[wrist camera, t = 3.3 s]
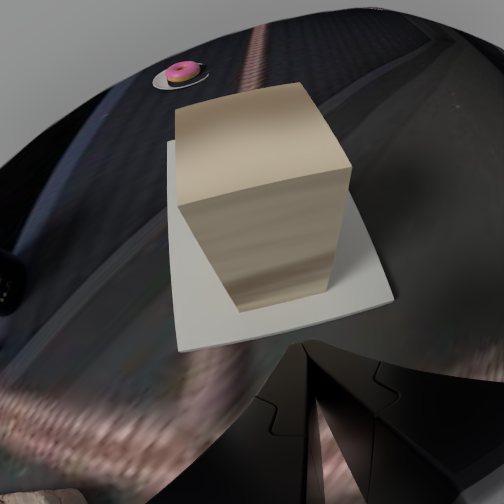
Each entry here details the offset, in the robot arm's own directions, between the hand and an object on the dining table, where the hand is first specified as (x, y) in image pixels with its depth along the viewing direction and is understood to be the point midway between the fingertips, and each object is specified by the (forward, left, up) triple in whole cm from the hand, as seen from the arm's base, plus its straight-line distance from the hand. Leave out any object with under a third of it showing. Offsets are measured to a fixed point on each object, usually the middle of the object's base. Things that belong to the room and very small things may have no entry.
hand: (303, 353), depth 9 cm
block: (+6, -4, -8) cm, 11 cm away
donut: (+36, -14, -10) cm, 40 cm away
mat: (+11, -7, -9) cm, 16 cm away
